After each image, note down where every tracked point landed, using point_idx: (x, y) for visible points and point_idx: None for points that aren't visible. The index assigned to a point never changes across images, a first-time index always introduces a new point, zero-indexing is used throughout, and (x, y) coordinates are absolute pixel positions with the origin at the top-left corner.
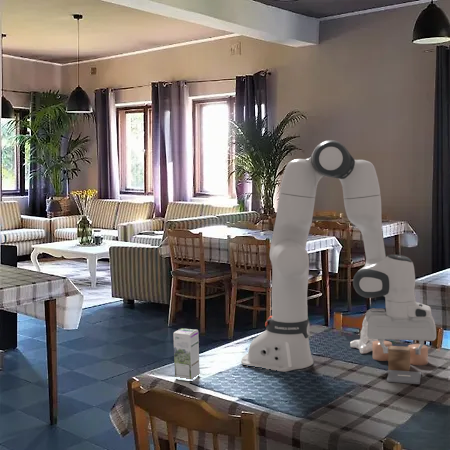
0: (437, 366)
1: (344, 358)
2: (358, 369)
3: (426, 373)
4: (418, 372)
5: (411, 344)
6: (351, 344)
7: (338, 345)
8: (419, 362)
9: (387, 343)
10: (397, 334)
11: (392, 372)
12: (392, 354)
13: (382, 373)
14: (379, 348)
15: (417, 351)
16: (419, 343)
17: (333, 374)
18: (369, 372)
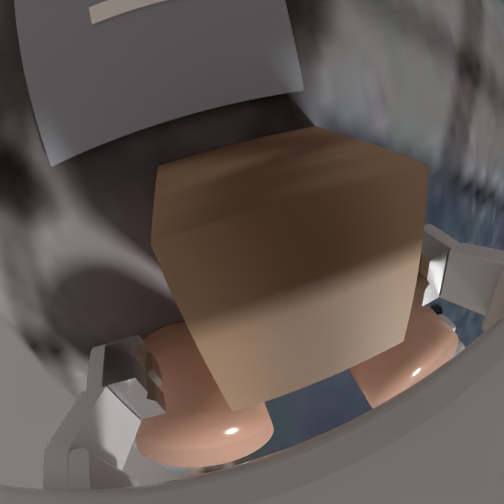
0: (70, 355)
1: (490, 226)
2: (453, 86)
3: (38, 205)
4: (64, 147)
5: (259, 447)
6: (462, 344)
7: (476, 330)
8: (157, 343)
9: (394, 386)
10: (484, 445)
11: (263, 33)
12: (362, 162)
13: (332, 40)
14: (426, 323)
15: (113, 362)
16: (84, 451)
17: (493, 2)
18: (403, 43)
